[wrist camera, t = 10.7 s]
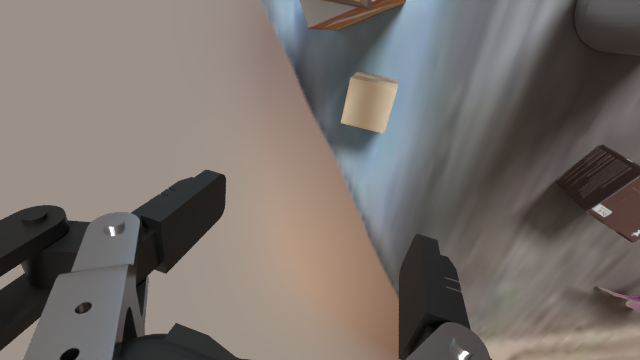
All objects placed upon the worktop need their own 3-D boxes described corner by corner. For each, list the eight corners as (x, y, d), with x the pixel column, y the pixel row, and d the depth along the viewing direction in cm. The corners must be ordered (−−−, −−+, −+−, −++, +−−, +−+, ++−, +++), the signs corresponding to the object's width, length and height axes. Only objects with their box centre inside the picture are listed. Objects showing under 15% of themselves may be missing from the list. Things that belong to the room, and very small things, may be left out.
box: (643, 172, 33) (701, 205, 26) (592, 207, 36) (633, 244, 29) (600, 142, 32) (649, 169, 26) (552, 180, 35) (585, 212, 29)
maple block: (398, 80, 35) (397, 88, 29) (386, 119, 37) (384, 133, 32) (357, 71, 35) (350, 77, 30) (348, 110, 38) (340, 122, 33)
